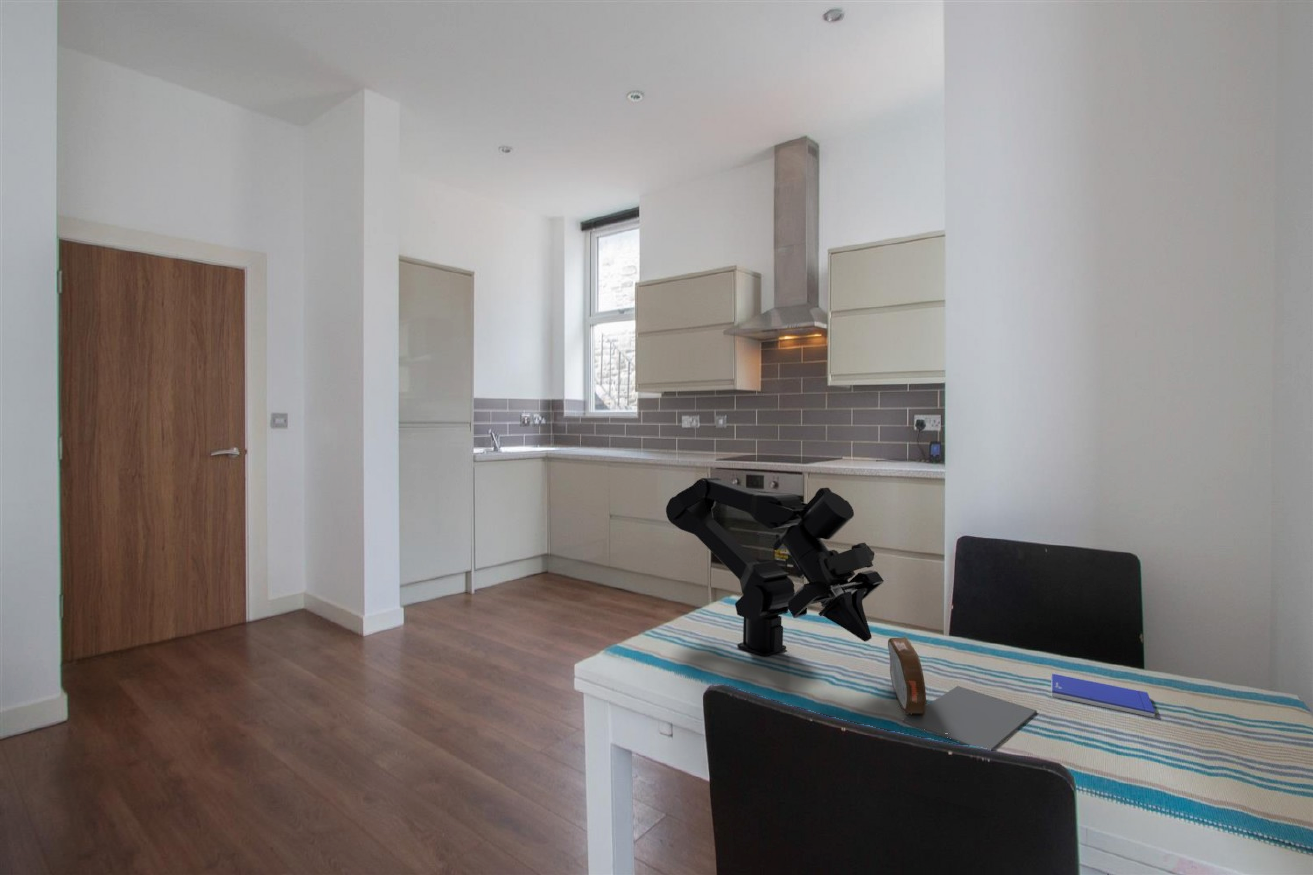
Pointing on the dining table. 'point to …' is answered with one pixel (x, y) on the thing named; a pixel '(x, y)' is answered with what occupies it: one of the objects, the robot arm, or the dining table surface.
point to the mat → (971, 718)
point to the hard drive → (1101, 695)
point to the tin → (907, 676)
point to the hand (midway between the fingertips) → (868, 639)
